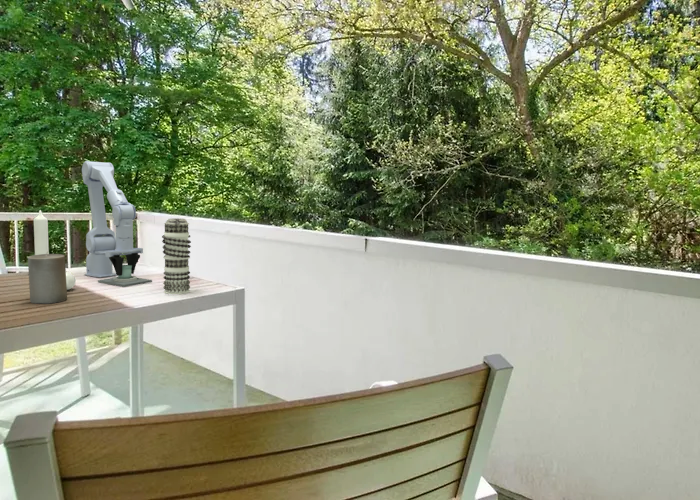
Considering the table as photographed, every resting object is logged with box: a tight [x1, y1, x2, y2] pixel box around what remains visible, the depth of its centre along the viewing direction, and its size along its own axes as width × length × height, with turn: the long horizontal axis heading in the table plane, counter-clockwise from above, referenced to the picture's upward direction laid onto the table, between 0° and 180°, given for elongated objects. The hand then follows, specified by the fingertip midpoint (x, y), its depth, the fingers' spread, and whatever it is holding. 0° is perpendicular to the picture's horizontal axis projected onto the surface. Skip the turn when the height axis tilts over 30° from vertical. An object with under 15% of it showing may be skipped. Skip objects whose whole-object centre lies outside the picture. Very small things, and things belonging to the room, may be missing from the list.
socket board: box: [97, 275, 153, 288], centre depth 183 cm, size 14×12×2 cm
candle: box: [33, 209, 50, 255], centre depth 189 cm, size 7×7×25 cm
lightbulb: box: [66, 270, 77, 291], centre depth 163 cm, size 6×6×11 cm
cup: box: [117, 264, 132, 279], centre depth 182 cm, size 5×5×5 cm
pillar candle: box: [26, 252, 68, 304], centre depth 150 cm, size 10×10×15 cm
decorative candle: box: [161, 217, 192, 295], centre depth 168 cm, size 9×9×25 cm
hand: (125, 274), depth 182 cm, fingers closed on cup, 5 cm apart
